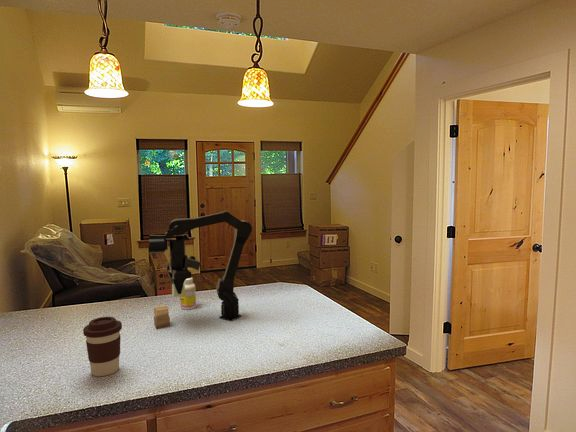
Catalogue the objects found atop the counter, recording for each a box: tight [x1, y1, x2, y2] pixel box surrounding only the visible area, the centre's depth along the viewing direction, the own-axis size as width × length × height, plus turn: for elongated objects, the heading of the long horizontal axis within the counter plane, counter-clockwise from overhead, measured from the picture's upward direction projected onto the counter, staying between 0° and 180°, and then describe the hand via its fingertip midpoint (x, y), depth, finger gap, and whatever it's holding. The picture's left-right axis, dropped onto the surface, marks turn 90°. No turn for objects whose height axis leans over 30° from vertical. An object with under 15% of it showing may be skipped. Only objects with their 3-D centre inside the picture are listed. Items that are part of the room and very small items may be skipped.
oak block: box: [153, 305, 170, 320], centre depth 145 cm, size 4×4×4 cm
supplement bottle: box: [179, 276, 197, 310], centre depth 166 cm, size 7×7×13 cm
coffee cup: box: [82, 316, 123, 377], centre depth 110 cm, size 10×10×15 cm
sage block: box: [171, 284, 185, 298], centre depth 147 cm, size 4×4×4 cm
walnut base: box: [153, 316, 171, 330], centre depth 146 cm, size 5×5×4 cm
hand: (178, 292), depth 147 cm, fingers closed on sage block, 4 cm apart
